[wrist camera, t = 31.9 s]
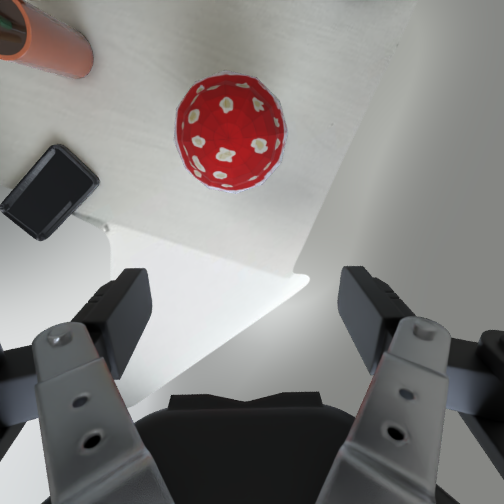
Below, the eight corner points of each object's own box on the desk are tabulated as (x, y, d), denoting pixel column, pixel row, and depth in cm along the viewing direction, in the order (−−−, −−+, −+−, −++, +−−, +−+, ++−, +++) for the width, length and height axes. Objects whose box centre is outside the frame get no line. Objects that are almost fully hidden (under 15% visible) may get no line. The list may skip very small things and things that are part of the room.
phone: (-4, 208, 45) (54, 141, 42) (2, 206, 46) (59, 140, 43) (41, 244, 48) (99, 183, 44) (45, 241, 49) (102, 182, 45)
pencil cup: (80, 20, 37) (-28, -49, 22) (101, 71, 40) (15, 39, 25) (39, 34, 38) (-95, -25, 23) (61, 84, 40) (-47, 60, 25)
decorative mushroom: (165, 120, 42) (128, 117, 29) (245, 57, 39) (246, 21, 26) (222, 199, 47) (214, 230, 33) (297, 147, 44) (321, 158, 31)
